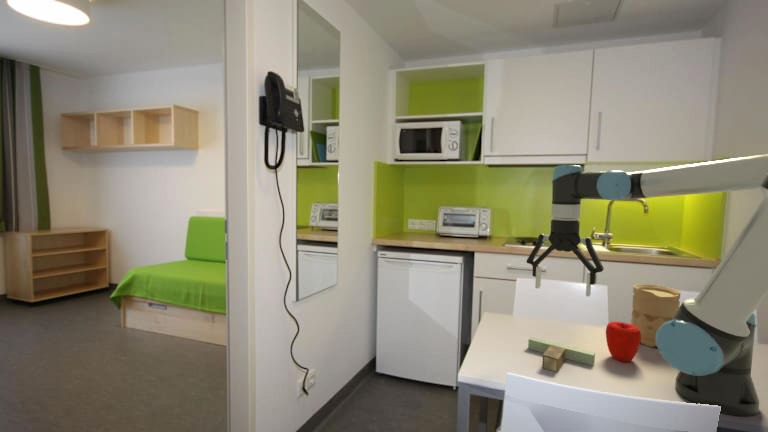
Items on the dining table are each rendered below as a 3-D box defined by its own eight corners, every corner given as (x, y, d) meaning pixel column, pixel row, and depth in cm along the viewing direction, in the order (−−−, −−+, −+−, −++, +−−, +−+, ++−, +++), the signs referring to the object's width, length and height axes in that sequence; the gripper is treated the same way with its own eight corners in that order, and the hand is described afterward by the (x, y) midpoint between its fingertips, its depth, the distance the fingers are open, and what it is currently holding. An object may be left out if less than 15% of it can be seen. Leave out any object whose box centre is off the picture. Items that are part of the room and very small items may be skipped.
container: (686, 350, 118) (690, 294, 117) (647, 349, 118) (650, 293, 117) (657, 334, 131) (661, 284, 129) (621, 334, 131) (625, 283, 129)
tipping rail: (594, 362, 108) (594, 352, 108) (593, 365, 106) (593, 355, 106) (530, 346, 119) (530, 337, 119) (528, 348, 117) (528, 339, 117)
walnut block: (565, 348, 109) (558, 359, 101) (565, 361, 109) (557, 373, 102) (551, 344, 111) (542, 355, 104) (550, 357, 111) (542, 368, 104)
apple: (633, 354, 114) (635, 320, 113) (644, 367, 106) (647, 330, 105) (600, 350, 116) (602, 316, 116) (609, 363, 108) (611, 326, 107)
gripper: (617, 220, 103) (613, 296, 105) (525, 216, 119) (522, 282, 120) (613, 222, 98) (609, 302, 99) (517, 217, 113) (515, 286, 114)
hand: (562, 291), depth 109 cm, fingers open, 13 cm apart
